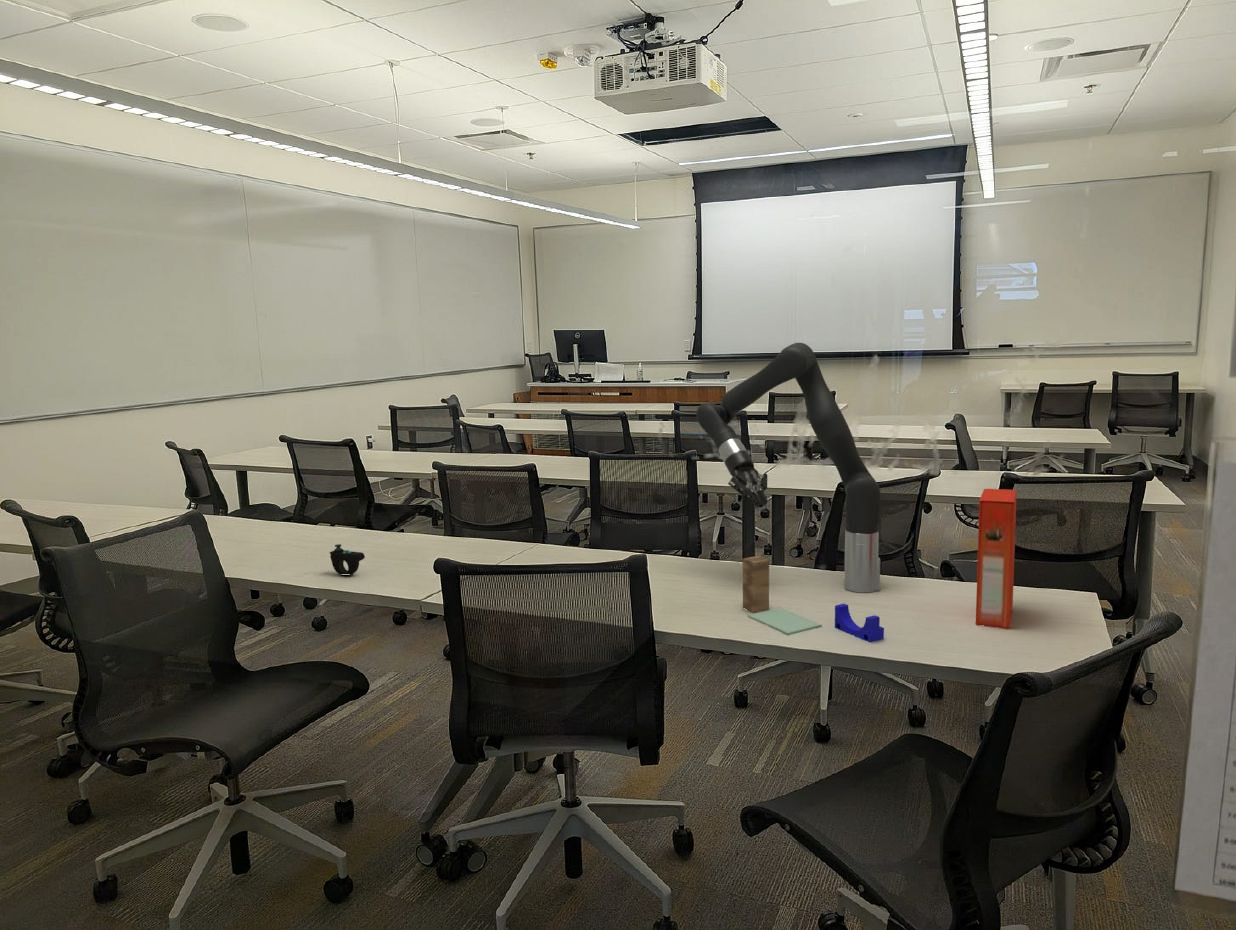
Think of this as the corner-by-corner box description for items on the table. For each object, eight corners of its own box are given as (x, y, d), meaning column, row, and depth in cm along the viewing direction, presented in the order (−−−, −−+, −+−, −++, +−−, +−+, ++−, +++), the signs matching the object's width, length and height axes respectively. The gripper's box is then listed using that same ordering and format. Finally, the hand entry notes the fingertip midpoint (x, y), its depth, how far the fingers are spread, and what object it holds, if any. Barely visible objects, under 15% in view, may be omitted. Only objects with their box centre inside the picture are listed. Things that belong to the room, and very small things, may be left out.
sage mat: (747, 616, 212) (747, 614, 212) (780, 609, 217) (780, 607, 217) (788, 634, 198) (788, 632, 198) (821, 626, 203) (821, 624, 203)
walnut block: (742, 608, 219) (742, 558, 217) (757, 605, 221) (757, 556, 219) (754, 613, 214) (754, 562, 212) (769, 610, 217) (769, 560, 215)
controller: (338, 572, 266) (336, 542, 264) (368, 575, 261) (365, 545, 259) (329, 575, 262) (326, 545, 260) (359, 579, 257) (356, 548, 255)
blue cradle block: (883, 639, 194) (884, 615, 193) (869, 643, 192) (870, 619, 191) (848, 625, 205) (848, 602, 204) (834, 628, 202) (835, 605, 202)
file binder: (974, 624, 202) (979, 499, 197) (979, 604, 217) (984, 488, 212) (1009, 629, 198) (1015, 502, 193) (1012, 608, 213) (1018, 490, 208)
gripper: (722, 451, 232) (748, 499, 223) (759, 447, 238) (787, 494, 229) (711, 467, 237) (737, 515, 228) (748, 463, 244) (774, 509, 235)
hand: (762, 504), depth 229 cm, fingers closed
